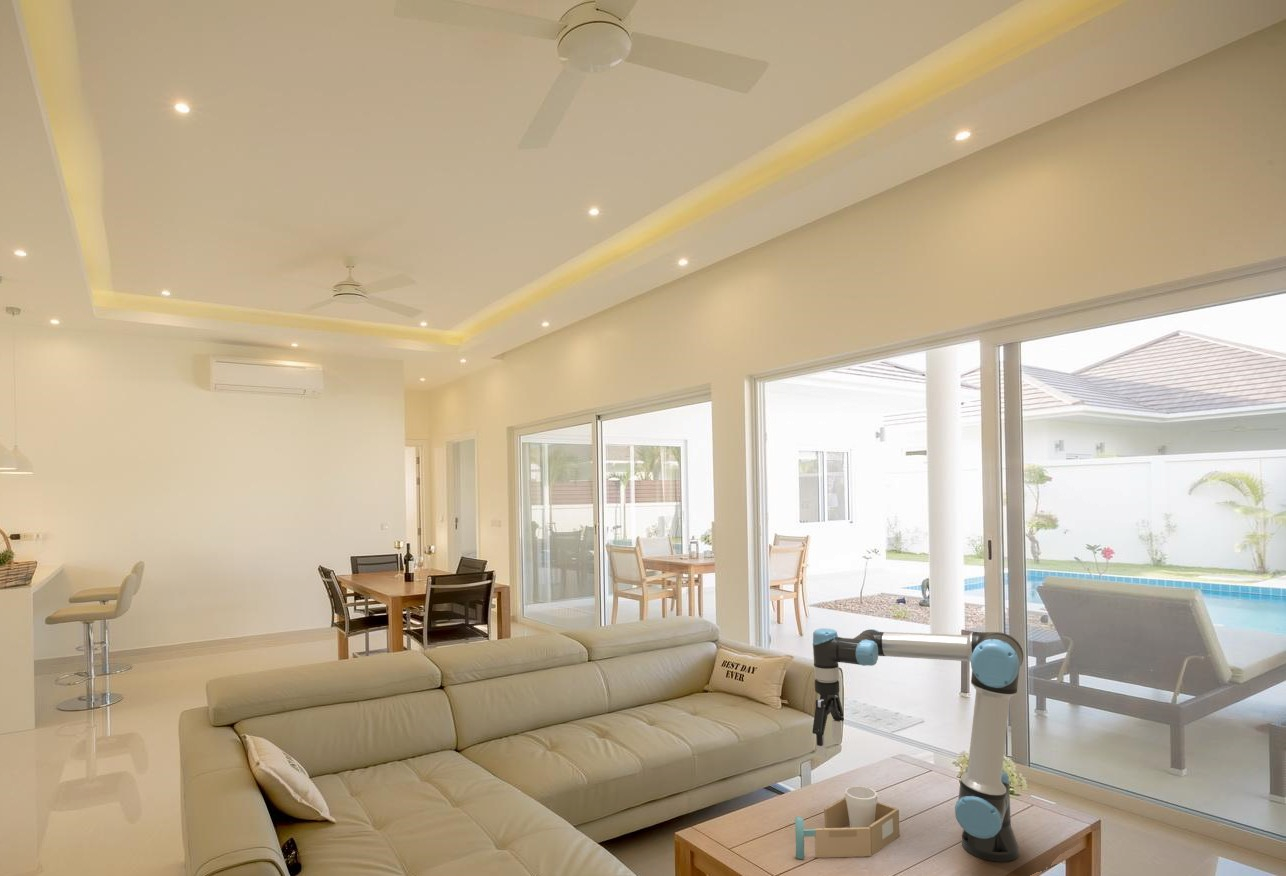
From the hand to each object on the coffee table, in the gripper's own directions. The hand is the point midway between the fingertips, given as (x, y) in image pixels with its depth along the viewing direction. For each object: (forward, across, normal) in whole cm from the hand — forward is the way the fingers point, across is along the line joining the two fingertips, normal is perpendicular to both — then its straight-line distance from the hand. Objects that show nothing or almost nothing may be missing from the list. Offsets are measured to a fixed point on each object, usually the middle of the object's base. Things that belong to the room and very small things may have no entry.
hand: (829, 748), depth 227 cm
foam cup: (+25, -2, +8) cm, 27 cm away
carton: (+25, -2, +9) cm, 27 cm away
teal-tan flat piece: (+25, +15, +6) cm, 29 cm away
